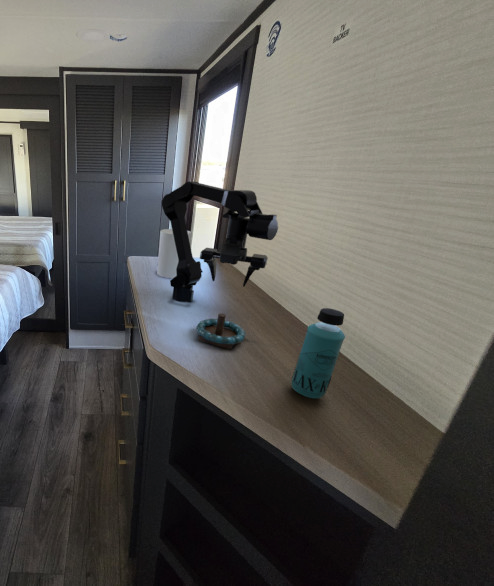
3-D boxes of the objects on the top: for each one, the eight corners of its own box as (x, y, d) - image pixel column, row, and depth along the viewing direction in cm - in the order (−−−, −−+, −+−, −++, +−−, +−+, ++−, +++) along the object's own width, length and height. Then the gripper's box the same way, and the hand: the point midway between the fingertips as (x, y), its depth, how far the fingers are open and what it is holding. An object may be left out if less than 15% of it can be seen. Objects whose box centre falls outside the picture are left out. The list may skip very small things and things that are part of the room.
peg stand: (198, 340, 89) (201, 316, 86) (206, 328, 96) (209, 305, 93) (231, 349, 84) (235, 324, 82) (237, 336, 92) (241, 312, 89)
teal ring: (190, 337, 88) (191, 330, 87) (203, 319, 98) (204, 314, 97) (239, 350, 81) (241, 343, 80) (247, 330, 92) (249, 324, 91)
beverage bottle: (282, 385, 70) (304, 304, 63) (309, 384, 71) (335, 304, 64) (301, 406, 64) (328, 318, 57) (331, 404, 65) (362, 317, 58)
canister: (151, 271, 150) (154, 229, 143) (174, 268, 155) (179, 228, 148) (167, 280, 138) (172, 235, 131) (192, 276, 144) (197, 233, 136)
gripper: (197, 235, 91) (191, 285, 97) (268, 243, 82) (256, 297, 88) (207, 229, 100) (201, 276, 106) (272, 236, 91) (261, 286, 97)
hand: (228, 283), depth 99 cm, fingers open, 9 cm apart
